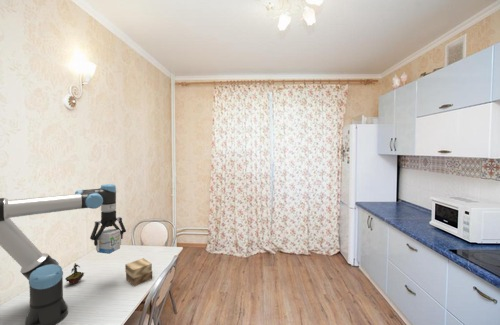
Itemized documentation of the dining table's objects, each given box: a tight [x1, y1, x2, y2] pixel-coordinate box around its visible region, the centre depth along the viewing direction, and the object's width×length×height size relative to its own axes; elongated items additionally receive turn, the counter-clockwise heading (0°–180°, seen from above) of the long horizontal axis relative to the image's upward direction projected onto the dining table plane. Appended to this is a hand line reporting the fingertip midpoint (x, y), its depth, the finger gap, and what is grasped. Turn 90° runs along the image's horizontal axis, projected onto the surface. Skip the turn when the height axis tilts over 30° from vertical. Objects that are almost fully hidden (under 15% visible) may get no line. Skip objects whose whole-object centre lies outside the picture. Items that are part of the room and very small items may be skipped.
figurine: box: [65, 263, 85, 285], centre depth 139 cm, size 10×8×12 cm
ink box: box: [96, 228, 121, 255], centre depth 138 cm, size 8×8×12 cm
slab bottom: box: [125, 271, 153, 287], centre depth 145 cm, size 11×11×5 cm
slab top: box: [124, 258, 153, 279], centre depth 144 cm, size 11×11×5 cm
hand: (108, 247), depth 138 cm, fingers closed on ink box, 11 cm apart
